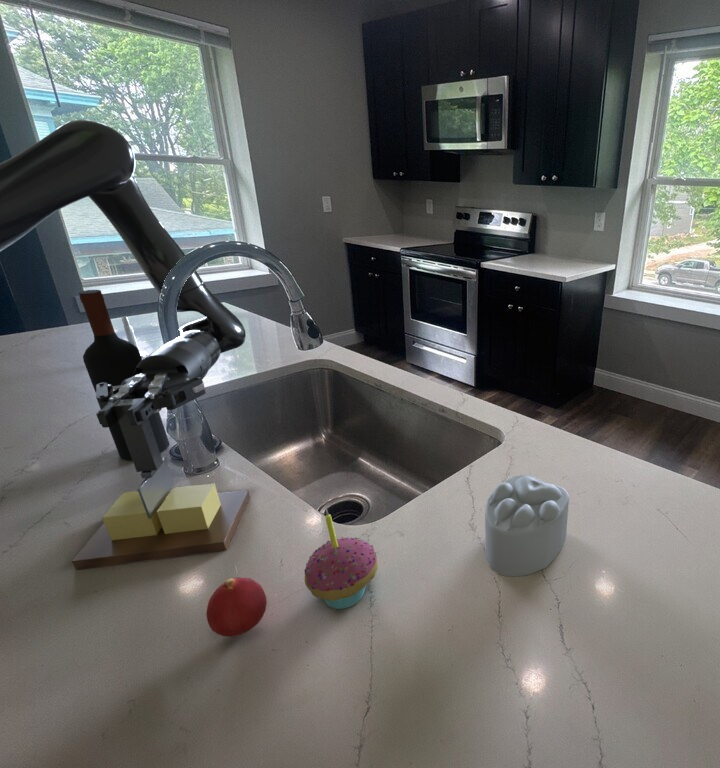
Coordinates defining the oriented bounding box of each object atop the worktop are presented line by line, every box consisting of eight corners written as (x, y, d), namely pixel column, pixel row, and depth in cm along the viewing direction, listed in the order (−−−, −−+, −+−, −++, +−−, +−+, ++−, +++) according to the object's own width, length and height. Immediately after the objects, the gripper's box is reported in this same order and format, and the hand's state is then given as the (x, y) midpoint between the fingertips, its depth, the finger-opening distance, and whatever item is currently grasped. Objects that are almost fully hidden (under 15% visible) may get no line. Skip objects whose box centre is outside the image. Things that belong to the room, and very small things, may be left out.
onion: (220, 616, 55) (203, 565, 52) (273, 602, 57) (261, 553, 54) (210, 660, 50) (191, 607, 47) (269, 643, 52) (255, 591, 49)
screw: (129, 367, 124) (127, 362, 127) (151, 363, 127) (148, 358, 130) (113, 319, 118) (111, 315, 121) (136, 316, 121) (134, 312, 124)
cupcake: (298, 592, 59) (281, 516, 54) (360, 557, 64) (350, 486, 60) (329, 636, 53) (313, 556, 48) (394, 594, 59) (385, 519, 54)
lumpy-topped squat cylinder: (574, 531, 70) (578, 483, 67) (532, 590, 60) (535, 538, 56) (515, 506, 75) (516, 461, 72) (467, 557, 65) (465, 507, 61)
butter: (111, 540, 64) (101, 517, 63) (131, 514, 69) (123, 492, 67) (208, 528, 67) (201, 506, 65) (221, 504, 72) (214, 483, 70)
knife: (139, 520, 63) (100, 416, 56) (164, 486, 70) (131, 390, 63) (159, 517, 63) (122, 415, 57) (182, 484, 70) (151, 389, 64)
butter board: (75, 570, 61) (71, 561, 61) (123, 511, 72) (119, 503, 71) (226, 550, 65) (223, 542, 64) (250, 497, 76) (248, 489, 75)
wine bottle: (120, 465, 83) (57, 299, 71) (118, 447, 88) (59, 290, 76) (171, 451, 87) (120, 293, 75) (166, 435, 93) (118, 284, 80)
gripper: (117, 347, 70) (39, 397, 55) (219, 343, 73) (172, 388, 58) (132, 393, 73) (62, 451, 58) (230, 386, 76) (188, 440, 61)
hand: (118, 419), depth 58 cm, fingers closed on knife, 2 cm apart
